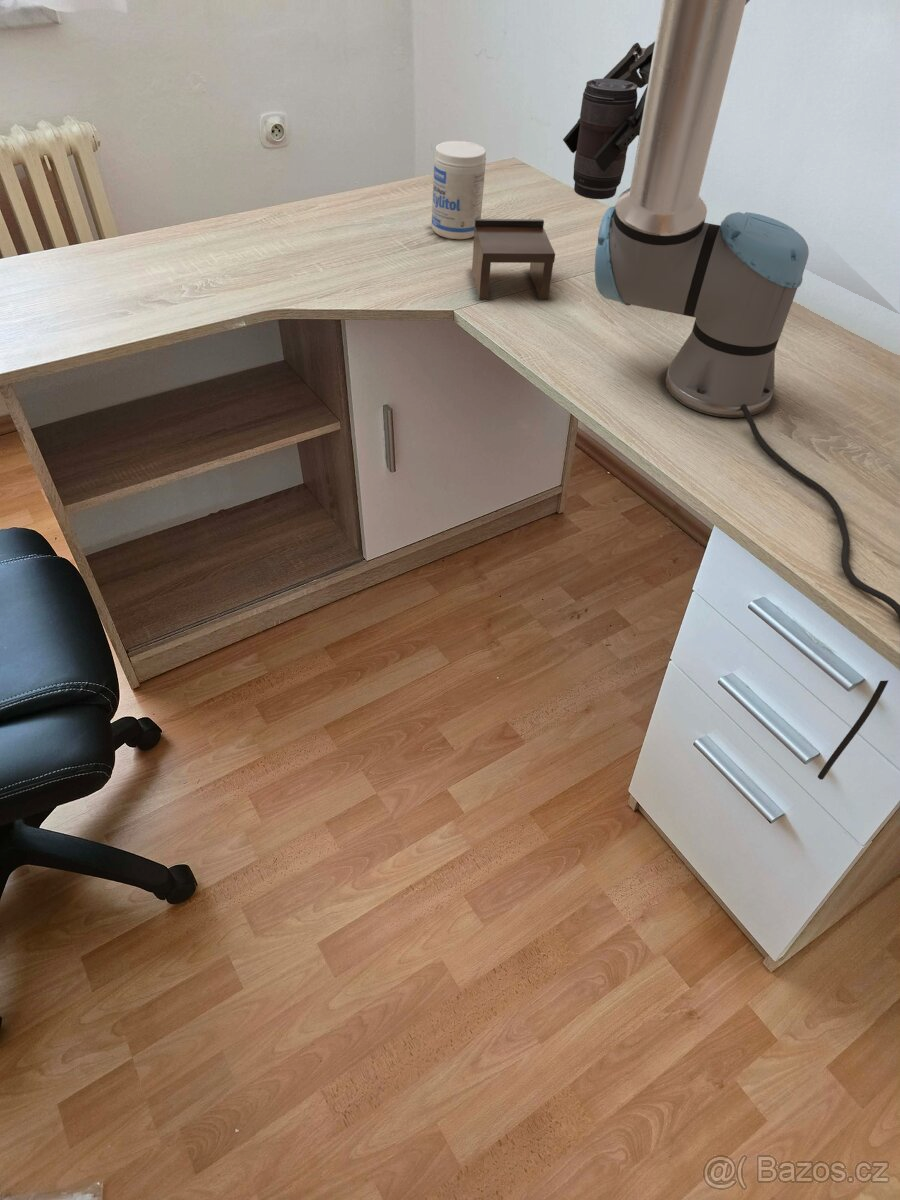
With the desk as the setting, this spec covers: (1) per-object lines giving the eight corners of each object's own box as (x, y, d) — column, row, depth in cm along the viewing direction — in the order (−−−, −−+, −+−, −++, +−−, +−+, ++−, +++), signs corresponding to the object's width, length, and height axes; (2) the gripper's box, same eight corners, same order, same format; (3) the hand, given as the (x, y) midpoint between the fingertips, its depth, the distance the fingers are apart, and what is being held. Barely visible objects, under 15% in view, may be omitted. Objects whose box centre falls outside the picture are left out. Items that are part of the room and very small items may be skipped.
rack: (548, 301, 134) (556, 247, 128) (479, 301, 133) (483, 247, 126) (536, 270, 142) (543, 219, 136) (471, 270, 141) (474, 218, 135)
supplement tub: (424, 235, 151) (425, 151, 141) (441, 218, 158) (444, 137, 147) (471, 244, 149) (476, 160, 139) (487, 227, 156) (493, 145, 145)
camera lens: (618, 185, 129) (638, 78, 118) (620, 203, 123) (641, 92, 113) (569, 181, 130) (584, 74, 119) (569, 198, 124) (585, 88, 113)
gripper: (749, 62, 111) (632, 195, 118) (662, 30, 124) (560, 151, 131) (731, 17, 106) (608, 159, 112) (642, -11, 119) (537, 118, 125)
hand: (583, 155), depth 121 cm, fingers closed on camera lens, 8 cm apart
